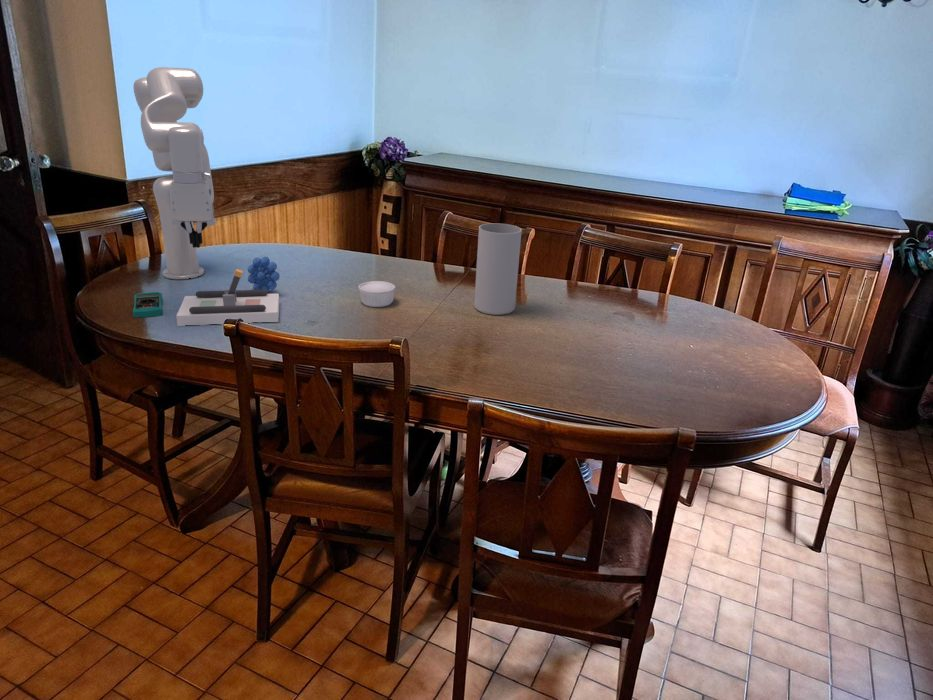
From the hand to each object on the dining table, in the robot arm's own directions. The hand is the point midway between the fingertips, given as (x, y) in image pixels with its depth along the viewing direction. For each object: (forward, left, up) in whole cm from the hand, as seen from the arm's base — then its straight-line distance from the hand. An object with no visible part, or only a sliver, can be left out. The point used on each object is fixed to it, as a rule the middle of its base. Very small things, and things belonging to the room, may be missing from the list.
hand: (196, 246), depth 175 cm
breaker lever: (0, +7, -16) cm, 17 cm away
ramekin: (-6, +49, -20) cm, 53 cm away
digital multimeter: (-7, -16, -20) cm, 27 cm away
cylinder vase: (+3, +84, -20) cm, 87 cm away
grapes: (-18, +16, -20) cm, 31 cm away
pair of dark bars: (0, +7, -17) cm, 18 cm away
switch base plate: (0, +7, -20) cm, 21 cm away
